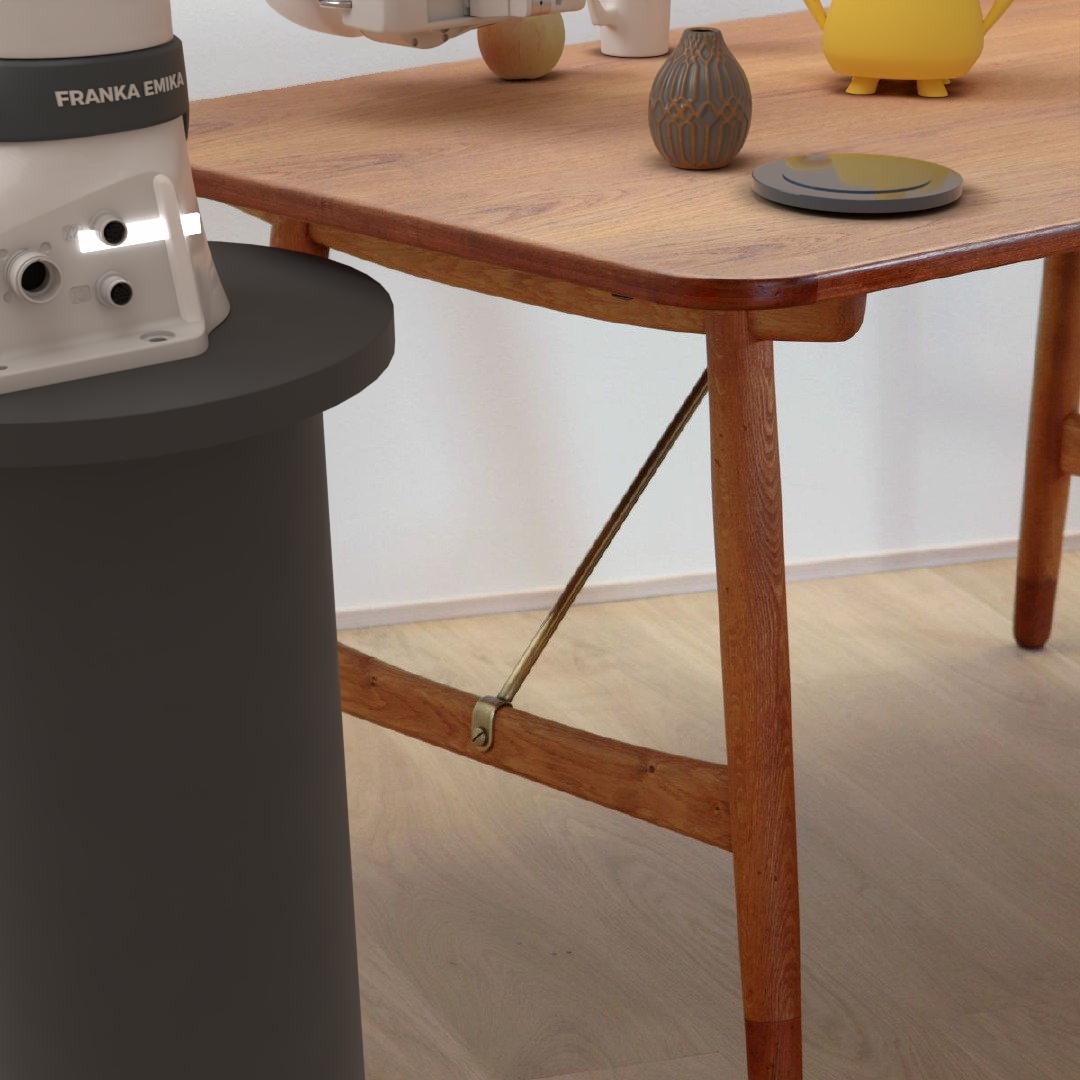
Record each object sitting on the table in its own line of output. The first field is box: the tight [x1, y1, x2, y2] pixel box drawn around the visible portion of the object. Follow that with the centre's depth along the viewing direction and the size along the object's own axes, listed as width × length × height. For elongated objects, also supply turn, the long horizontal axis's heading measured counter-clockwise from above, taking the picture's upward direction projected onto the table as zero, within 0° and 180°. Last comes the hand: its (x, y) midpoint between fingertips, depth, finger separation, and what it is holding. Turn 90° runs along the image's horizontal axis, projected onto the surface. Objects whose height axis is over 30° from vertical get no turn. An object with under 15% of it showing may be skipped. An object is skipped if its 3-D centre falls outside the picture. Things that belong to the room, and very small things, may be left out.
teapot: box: [802, 0, 1015, 98], centre depth 141 cm, size 14×14×12 cm
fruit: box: [476, 13, 566, 80], centre depth 146 cm, size 8×7×8 cm
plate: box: [751, 152, 964, 214], centre depth 108 cm, size 13×13×1 cm
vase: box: [647, 26, 753, 170], centre depth 115 cm, size 7×7×9 cm
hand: (541, 3), depth 123 cm, fingers closed
